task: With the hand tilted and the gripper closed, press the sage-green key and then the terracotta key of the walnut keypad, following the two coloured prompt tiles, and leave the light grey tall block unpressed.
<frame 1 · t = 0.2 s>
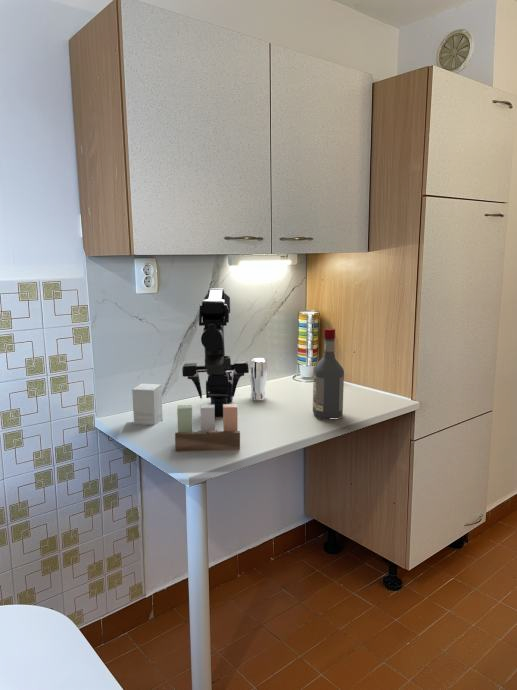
hand: (217, 397, 156), 14 cm above the table, tool pointing down, fingers open, 9 cm apart
light grey tall block: (207, 424, 155), point 7 cm above the table, slide at 0.0 cm
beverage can: (223, 402, 200), on the table
liquor: (327, 416, 184), on the table
keypad base: (208, 448, 155), on the table
beer glass: (258, 399, 204), on the table
terracotta key: (230, 423, 156), point 7 cm above the table, slide at 0.0 cm
sage key: (185, 425, 155), point 7 cm above the table, slide at 0.0 cm
supplement box: (148, 424, 175), on the table
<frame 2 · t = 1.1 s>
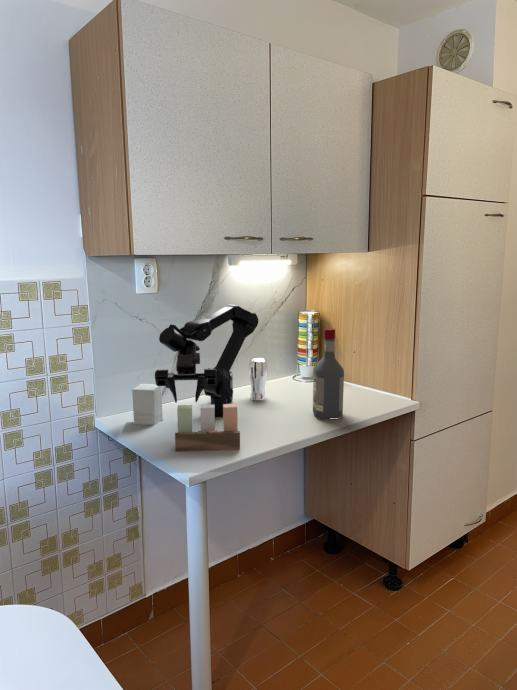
hand: (186, 401, 160), 12 cm above the table, tool tilted 45°, fingers open, 6 cm apart
nothing on the table moved.
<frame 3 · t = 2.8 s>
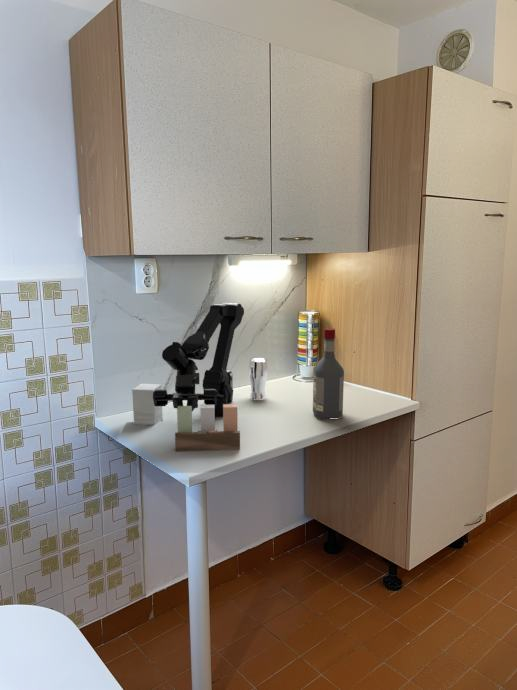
hand: (184, 423, 156), 7 cm above the table, tool tilted 45°, fingers closed, pressing on sage key
sage key: (184, 426, 154), point 7 cm above the table, slide at 0.8 cm, touching gripper
everything else where it was.
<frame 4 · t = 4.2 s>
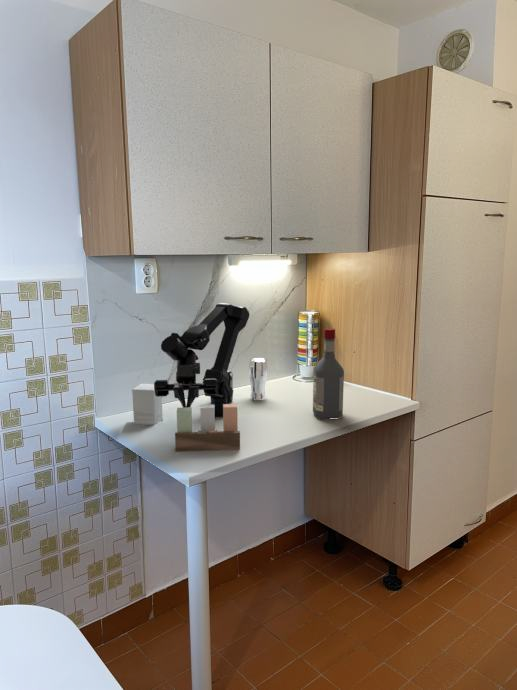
hand: (186, 412, 157), 9 cm above the table, tool tilted 45°, fingers closed
sage key: (184, 427, 152), point 7 cm above the table, slide at 2.3 cm
everything else where it was.
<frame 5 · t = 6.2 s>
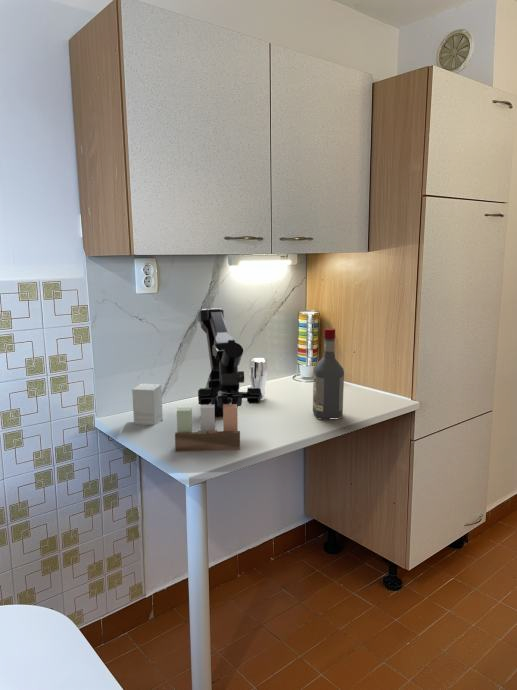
hand: (230, 421, 157), 7 cm above the table, tool tilted 45°, fingers closed, pressing on terracotta key
terracotta key: (230, 424, 156), point 7 cm above the table, slide at 0.2 cm, touching gripper
everything else where it was.
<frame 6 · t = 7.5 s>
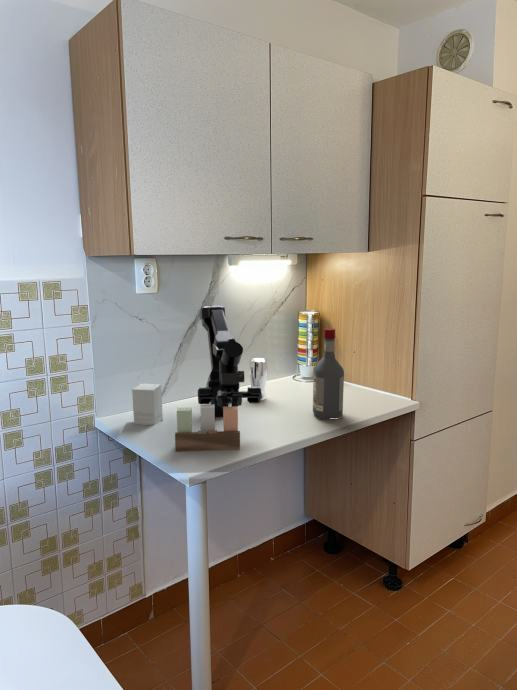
hand: (230, 421, 156), 7 cm above the table, tool tilted 45°, fingers closed
terracotta key: (230, 426, 154), point 7 cm above the table, slide at 2.3 cm
everything else where it was.
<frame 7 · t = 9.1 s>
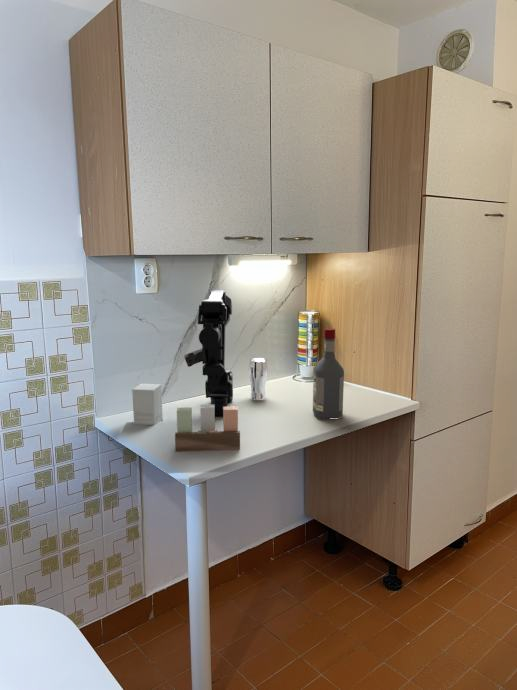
hand: (213, 391, 166), 13 cm above the table, tool pointing down, fingers closed
nothing on the table moved.
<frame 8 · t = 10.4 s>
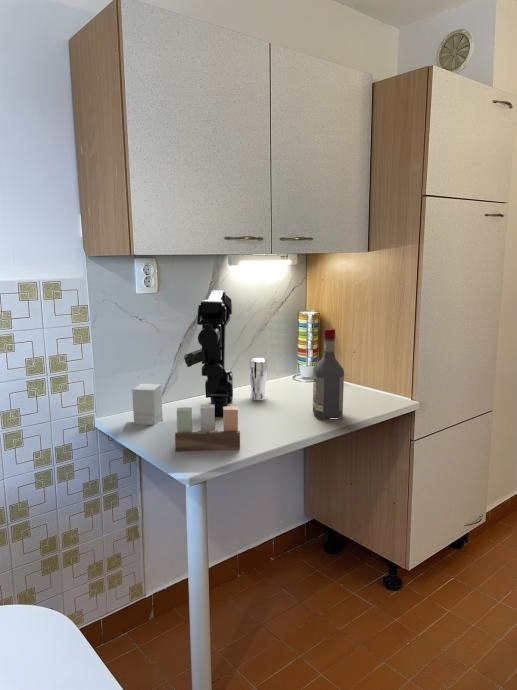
hand: (212, 391, 166), 13 cm above the table, tool pointing down, fingers closed
nothing on the table moved.
at the end: sage key slide at 2.3 cm; terracotta key slide at 2.3 cm; light grey tall block slide at 0.0 cm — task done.
